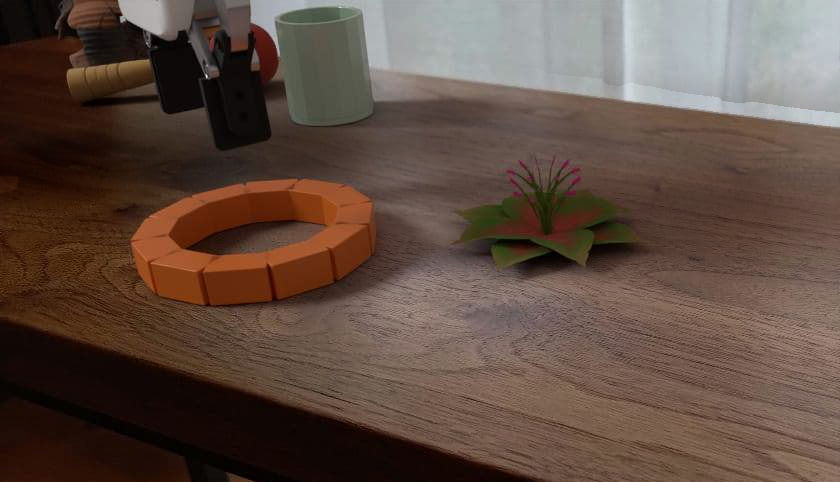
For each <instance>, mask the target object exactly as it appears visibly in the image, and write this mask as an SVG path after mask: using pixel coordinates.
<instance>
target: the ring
mask: <svg viewBox="0 0 840 482" xmlns="http://www.w3.org/2000/svg"><path fill="white" fill-rule="evenodd" d="M281 221H298V222H303V223H304V222H305V223H311V224H317V225H323V226H326V228H325V229H323V230H322V231H319V232H318V233H317V234H315V235H314V236H312V237H311V238H309V239H307V240H303V241H299V242H296V243H292V244H288V245H285V246H282V247H278V248H275V249H270V250H267V251H263V252H251V253H238V254H237V253H235V254H224V255H217V254H211V253H205V252H200V251H195V250H190V249H188V248H189V247H191V246H193V245H195V244H197V243H199V242H200V241H203V240H204V239H206V238H207V237H210V236H211V235H214V234H216V233H219V232H224V231H227V230H230V229H235V228H238V227H243V226H246V225H250V224H256V223H268V222H281ZM376 223H377V222H376V216H375V207H374V202H372V199H371V198H369V197H367V196H366V195H364V194H362V193H361V192H359V191H358V190H356V189H354V188H353V187H352V186H350V185H345V184H344V183H336V182H330V181H322V180H314V179H309V178H308V179H307V178H303V179H302V178H301V179H300V180H299V179H298V178H287V179H286V178H285V179H274V180H259V181H247V182H246V184H243V183H242V182H241V183H236V184H232V185H229V186H224V187H219V188H216V189H212V190H208V191H204V192H200V193H196V194H193V195H191V197H188V196H187V197H185V198H183V199H180V200H179V201H177V202H175V203H173V204H170V205H169V206H166V207H164V208H162V209H161V210H159V211H156V212H155V213H152V214H150V215H149V217H147V218H145V219H144V220H143V222H141V224H140V226H139V228H138V229H137V231H136V232H134V235H133V236H132V238H131V239H130V245H131V249H132V253H133V258H134V260H135V264H136V269H137V272H138V275H139V276H140V277H141V279H142V280H143V282H144V283H145V284H146V285H147V286H148V287H149V288H150V290H151V291H152V292H153V294H154V295H158V297H162V298H165V299H170V300H176V301H181V302H185V303H189V304H195V305H199V306H204V307H205V306H207V305H210V306H212V307H214V306H215V307H216V306H225V305H240V304H241V305H242V304H252V303H265V302H272V301H273V299H274V298H276V299H277V300H278V301H280V300H282V299H286V298H289V297H293V296H297V295H300V294H302V293H305V292H309V291H312V290H316V289H318V288H321V287H325V286H328V285H331V284H334V283H335V281H334V280H336V281H340V280H342V279H343V278H345V277H346V276H347V275H349V274H350V273H351V272H353V271H354V270H356V269H357V268H358V267H360V266H361V265H363V264H364V263H365V262H367V261H369V260H370V259H371V258H372V255H375V254H374V253H375V247H376V241H377V234H378V231H377V224H376Z"/></svg>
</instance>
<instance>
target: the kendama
mask: <svg viewBox="0 0 840 482" xmlns="http://www.w3.org/2000/svg"><path fill="white" fill-rule="evenodd" d="M251 30H252V31H254V33H255V34H254V38H256V43H255V50H256V52H257V55H258V58H259V62H260V75H261V81H262V86H263V87H264V86H266V85H267V84H269V82H270V81H272V79H273V78H274V77H275V75H276V74H277V71H278V69H279V64H280V59H279V53H278V48H277V45H276V42H275V41H274V39H273V37H272V35H270V32H268V31H267V30H266V29H264V27H262V26H260V25H258V24H256V23H253V22H251ZM214 38H215V37H213V38H208V39H207V40H208V42H209V45H210V47H211V49H212V52H213V47H214ZM188 42H190V41H188ZM66 82H67V86H68V89H69V92H70V94H71V95H72V97H73V99H74V100H75V101H76V103H79V104H83V103H87V102H90V101H93V100H97V99H100V98H103V97H107V96H110V95H111V96H112V95H114V94H117V93H121V92H125V91H127V90H134V89H137V88H141V87H144V86H147V85H151V84H153V83H154V84H155V81H154V77H153V73H152V69H151V65H150V61H149V58H148V59H138V60H135V61H129V62H122V63H120V64H119V63H115V64H109V65H101V66H93V67H88V68H75V69H74V68H69V69H67V71H66Z"/></svg>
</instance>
